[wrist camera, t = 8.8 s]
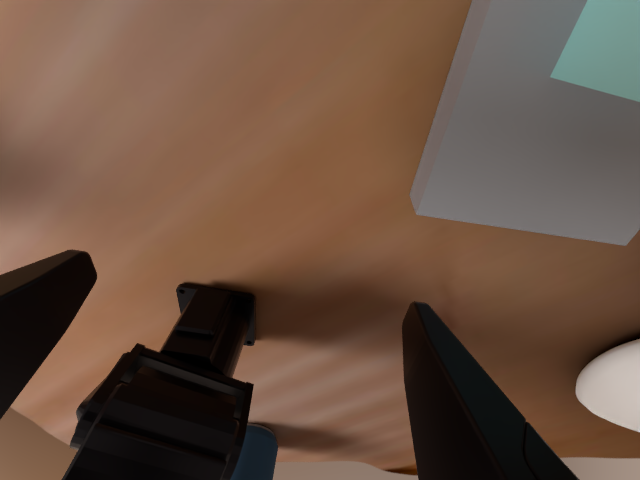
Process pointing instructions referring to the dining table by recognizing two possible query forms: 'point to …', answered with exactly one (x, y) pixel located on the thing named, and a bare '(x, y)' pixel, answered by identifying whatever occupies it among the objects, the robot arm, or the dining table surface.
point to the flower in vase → (613, 385)
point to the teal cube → (604, 49)
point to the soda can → (257, 454)
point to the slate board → (529, 133)
